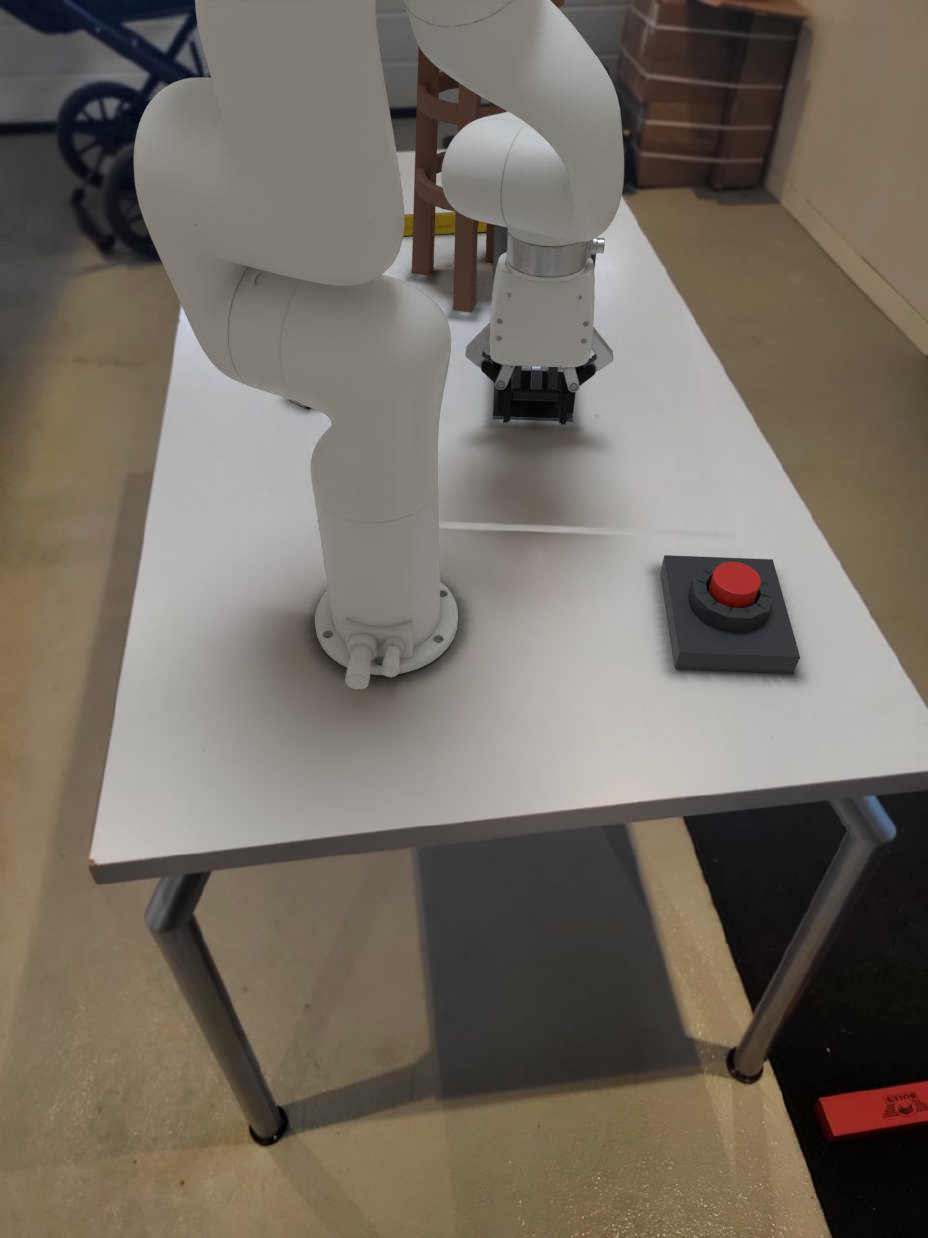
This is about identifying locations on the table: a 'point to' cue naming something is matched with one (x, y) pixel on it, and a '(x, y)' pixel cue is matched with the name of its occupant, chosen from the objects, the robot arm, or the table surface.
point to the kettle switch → (536, 389)
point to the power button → (734, 584)
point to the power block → (726, 620)
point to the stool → (431, 164)
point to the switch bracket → (532, 407)
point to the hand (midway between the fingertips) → (534, 414)
